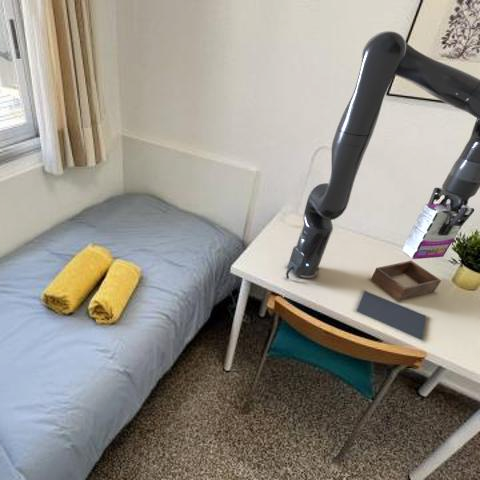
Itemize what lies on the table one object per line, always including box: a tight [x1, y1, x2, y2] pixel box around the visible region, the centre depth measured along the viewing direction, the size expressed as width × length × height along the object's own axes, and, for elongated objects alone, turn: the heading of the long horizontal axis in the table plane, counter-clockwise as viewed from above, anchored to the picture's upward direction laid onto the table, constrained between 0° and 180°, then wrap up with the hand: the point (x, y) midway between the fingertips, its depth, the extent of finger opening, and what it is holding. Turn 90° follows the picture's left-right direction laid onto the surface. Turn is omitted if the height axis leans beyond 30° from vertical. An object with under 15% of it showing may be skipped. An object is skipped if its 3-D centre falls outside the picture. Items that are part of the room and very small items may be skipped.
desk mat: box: [356, 290, 427, 340], centre depth 110 cm, size 12×18×1 cm, turn 52°
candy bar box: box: [401, 203, 462, 260], centre depth 102 cm, size 11×5×16 cm, turn 100°
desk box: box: [370, 260, 442, 302], centre depth 121 cm, size 17×12×6 cm
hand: (435, 228), depth 102 cm, fingers closed on candy bar box, 5 cm apart
